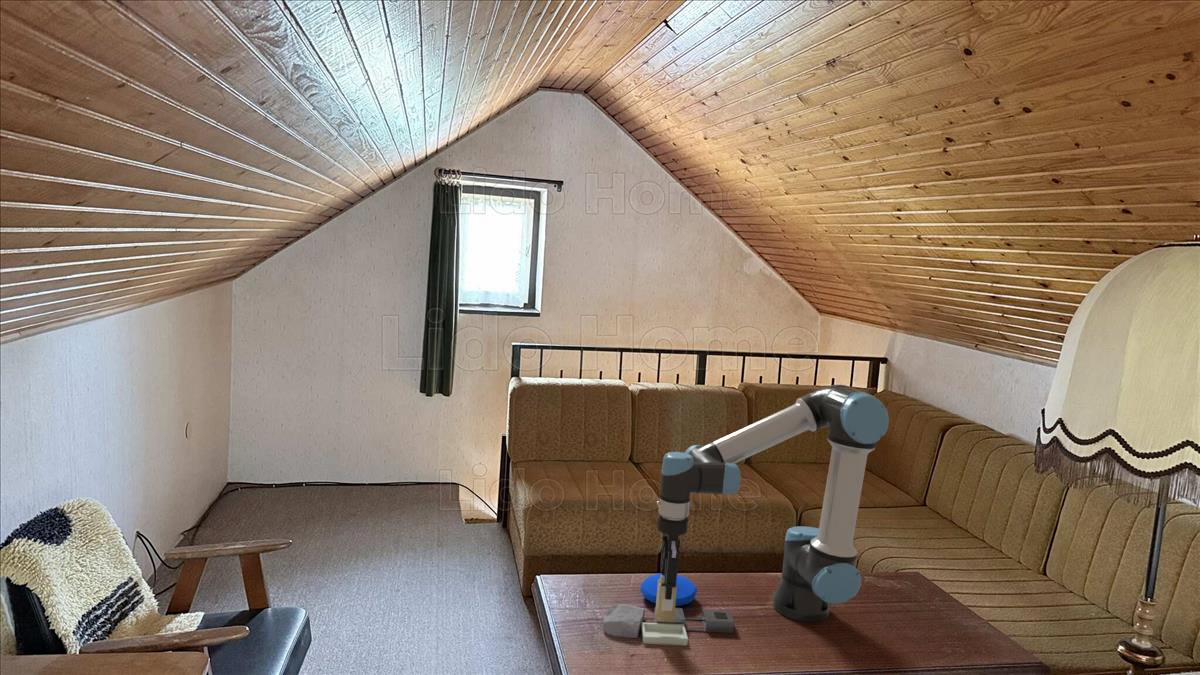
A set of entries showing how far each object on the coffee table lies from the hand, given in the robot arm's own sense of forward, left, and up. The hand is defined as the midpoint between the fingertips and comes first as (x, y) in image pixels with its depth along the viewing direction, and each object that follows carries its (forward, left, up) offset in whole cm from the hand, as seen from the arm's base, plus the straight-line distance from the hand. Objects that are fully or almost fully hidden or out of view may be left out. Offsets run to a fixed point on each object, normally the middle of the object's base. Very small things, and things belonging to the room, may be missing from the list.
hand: (665, 605), depth 181 cm
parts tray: (0, 0, -9) cm, 9 cm away
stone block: (+10, -5, -9) cm, 14 cm away
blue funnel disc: (-4, -21, -9) cm, 23 cm away
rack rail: (-9, -7, -9) cm, 14 cm away
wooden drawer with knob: (0, 0, -3) cm, 3 cm away
